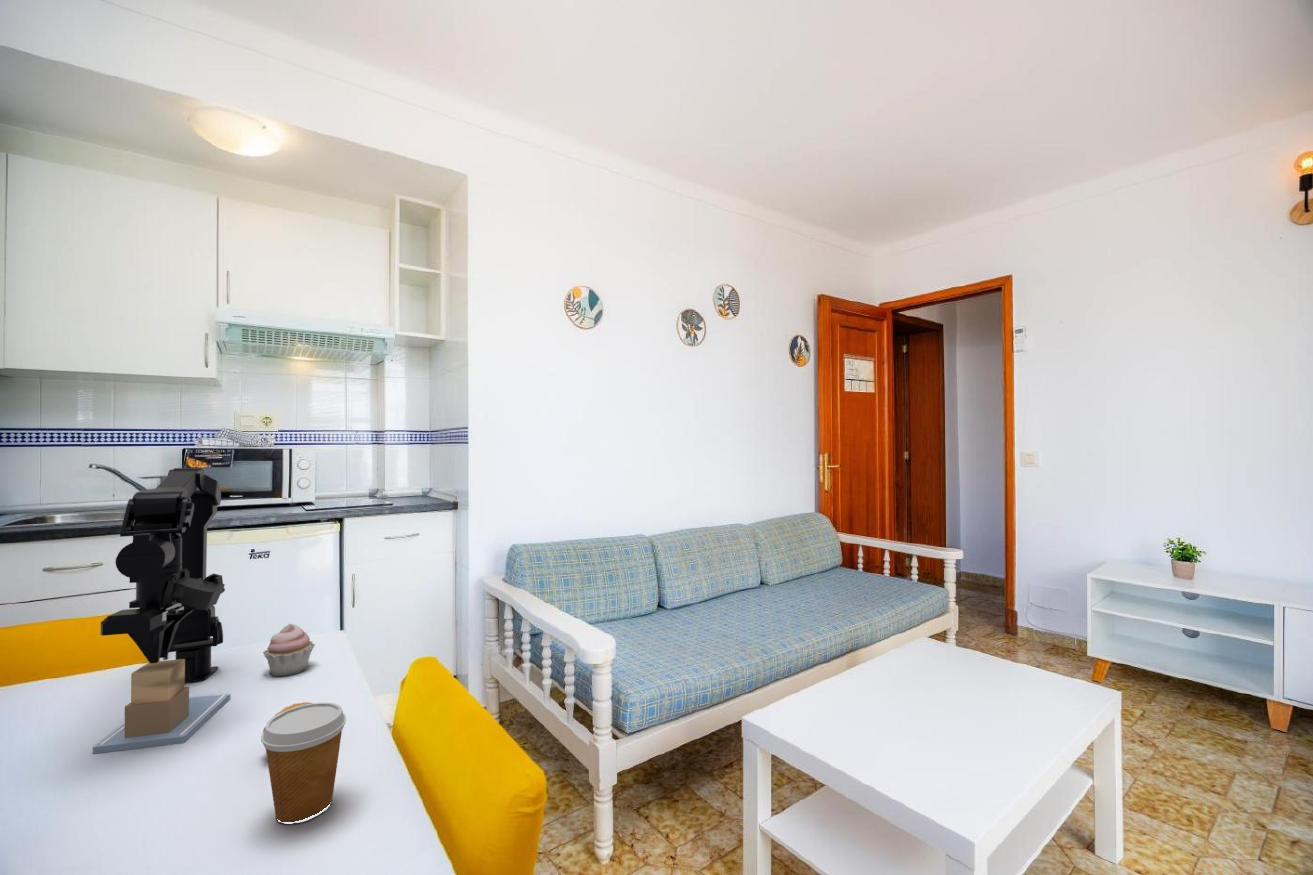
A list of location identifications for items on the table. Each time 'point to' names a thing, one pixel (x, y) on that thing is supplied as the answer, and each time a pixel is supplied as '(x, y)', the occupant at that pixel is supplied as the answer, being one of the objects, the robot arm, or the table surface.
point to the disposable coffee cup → (303, 758)
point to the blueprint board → (169, 737)
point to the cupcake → (289, 651)
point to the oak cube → (157, 681)
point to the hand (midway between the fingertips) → (158, 660)
